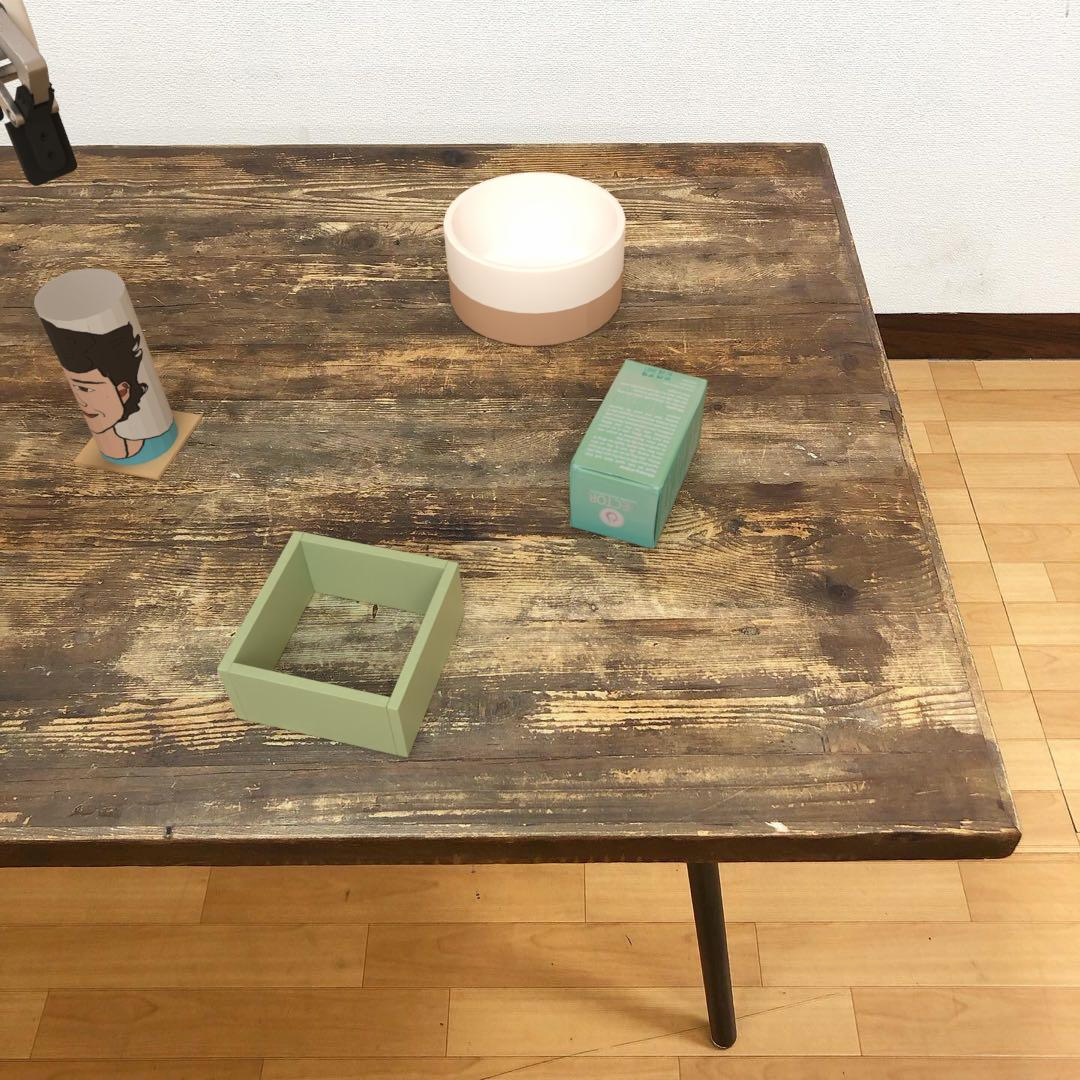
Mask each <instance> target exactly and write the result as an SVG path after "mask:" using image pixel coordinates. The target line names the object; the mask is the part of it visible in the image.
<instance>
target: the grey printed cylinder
mask: <svg viewBox="0 0 1080 1080" xmlns="http://www.w3.org/2000/svg"><path fill="white" fill-rule="evenodd" d="M33 306H34V308H35V311H36V313H37V315H38V317H39V319H40V321H41V323H42V326H43V328H44V331H45V333H46V336H47V337H48V340H49V341H50V344H51V345H52V348H53V350H54V352H55V355H56V357H57V359H58V361H59V363H60V364H59V365H60V366H61V368H62V371H63V373H64V375H65V377H66V379H67V381H68V384H69V386H70V388H71V391H72V392H73V395H74V397H75V400H76V402H77V404H78V407H79V409H80V410H81V413H82V415H83V417H84V419H85V423H86V424H87V426H88V428H89V430H90V433H91V435H92V437H94V439H95V442H96V444H97V446H98V448H99V450H100V452H101V454H102V456H103V457H104V458H105V459H107V460H108V461H109V462H113V463H116V464H119V465H136V464H142V463H146V462H148V461H151V460H154V459H156V458H158V457H159V456H161V455H162V454H164V453H165V452H167V451H168V450H169V449H170V448H171V446H172V445H173V444H174V442H175V440H176V438H177V436H178V432H177V425H176V422H175V420H174V417H173V414H172V411H171V410H172V409H171V406H170V404H169V401H168V399H167V395H166V393H165V390H164V387H163V385H162V382H161V379H160V376H159V374H158V373H159V372H158V371H157V368H156V365H155V363H154V360H153V357H152V354H151V351H150V349H149V346H148V344H147V341H146V338H145V336H144V333H143V330H142V327H141V325H140V322H139V319H138V316H137V314H136V311H135V308H134V305H133V303H132V299H131V297H130V295H129V291H128V289H127V286H126V284H125V282H124V280H123V278H122V277H121V276H120V275H119V274H117V273H116V272H114V271H111V270H107V269H104V268H83V269H75V270H72V271H69V272H66V273H62V274H60V275H58V276H56V277H54V278H52V279H50V280H49V281H47V282H46V283H45V284H44V285H43V286H41V287H40V288H39V290H38V291H37V293H36V294H35V296H34V301H33Z"/></svg>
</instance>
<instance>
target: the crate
mask: <svg viewBox="0 0 1080 1080" xmlns="http://www.w3.org/2000/svg"><path fill="white" fill-rule="evenodd" d="M460 573H461V571H460V563H459V562H457V561H451V560H448V559H443V558H438V557H431V556H428V555H422V554H417V553H412V552H406V551H401V550H397V549H392V548H386V547H380V546H375V545H372V544H371V545H370V544H366V543H361V542H356V541H350V540H345V539H340V538H335V537H329V536H324V535H321V534H314V533H309V532H303V531H298V530H293V532H292V534H291V536H290V537H289V539H288V542H287V543H286V544H285V546H284V549H283V550H282V552H281V554H280V555H279V558H278V559H277V561H276V563H275V564H274V566H273V567H272V570H271V572H270V573H269V574H268V576H267V579H266V581H265V582H264V584H263V586H262V588H261V590H260V591H259V593H258V595H257V596H256V599H255V600H254V602H253V604H252V605H251V607H250V609H249V611H248V613H246V616H245V618H244V620H243V621H242V623H241V625H240V627H239V629H238V631H237V632H236V633H235V636H234V637H233V639H232V641H231V643H230V644H229V647H228V649H227V650H226V652H225V653H224V655H223V657H222V659H221V661H220V663H219V664H218V666H217V668H216V670H217V673H218V676H219V677H220V680H221V682H222V685H223V687H224V689H225V692H226V694H227V696H228V699H229V702H230V703H231V706H232V708H233V710H234V713H235V716H236V717H237V719H240V720H244V721H248V722H251V723H257V724H261V725H264V726H265V725H266V726H269V727H274V728H278V729H281V730H282V729H283V730H286V731H290V732H294V733H299V734H304V735H306V736H307V735H308V736H312V737H316V738H321V739H325V740H330V741H334V742H338V743H342V744H346V745H351V746H356V747H359V748H363V749H369V750H371V751H372V750H373V751H378V752H381V753H385V754H389V755H394V756H399V757H403V758H409V756H410V754H411V751H412V748H413V747H414V744H415V741H416V739H417V737H418V734H419V731H420V728H421V726H422V724H423V721H424V718H425V715H426V713H427V711H428V708H429V705H430V703H431V701H432V698H433V696H434V693H435V691H436V689H437V685H438V683H439V680H440V677H441V675H442V672H443V670H444V667H445V665H446V662H447V660H448V657H449V655H450V652H451V650H452V647H453V645H454V642H455V641H456V640H455V639H456V637H457V635H458V632H459V629H460V627H461V624H462V621H463V619H464V617H465V607H464V599H463V591H462V582H461V581H462V580H461V574H460ZM314 593H317V594H323V595H326V596H333V597H338V598H342V599H347V600H352V601H357V602H362V603H365V604H371V605H377V606H381V607H385V608H390V609H396V610H401V611H406V612H410V613H414V614H419V615H424V617H423V619H422V622H421V624H420V627H419V629H418V631H417V634H416V636H415V638H414V640H413V643H412V645H411V647H410V650H409V653H408V655H407V657H406V659H405V661H404V665H403V666H402V669H401V672H400V674H399V676H398V679H397V681H396V683H395V686H394V688H393V690H392V693H391V695H390V696H386V695H382V694H377V693H372V692H369V691H363V690H359V689H356V688H350V687H346V686H341V685H337V684H333V683H328V682H324V681H318V680H315V679H310V678H305V677H302V676H296V675H291V674H287V673H283V672H278V671H274V670H275V668H276V666H277V665H278V662H279V660H280V659H281V657H282V655H283V653H284V651H285V649H286V647H287V644H289V641H290V639H291V638H292V635H293V634H294V632H295V629H296V628H297V627H298V624H299V622H300V620H301V618H302V616H303V614H304V613H305V610H306V608H307V606H308V605H309V603H310V601H311V598H312V597H313V595H314Z"/></svg>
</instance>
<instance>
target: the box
mask: <svg viewBox="0 0 1080 1080" xmlns="http://www.w3.org/2000/svg"><path fill="white" fill-rule="evenodd" d="M707 392H708V379H705V378H701V377H698V376H697V377H696V376H693V375H689V374H687V373H682V372H678V371H674V370H671V369H666V368H663V367H658V366H654V365H650V364H647V363H644V362H639V361H635V360H631V359H625V360H624V362H623V364H621V367H620V369H619V371H618V373H617V374H616V377H615V378H614V380H613V382H612V384H611V385H610V388H609V390H608V391H607V393H606V395H605V397H604V399H603V401H602V403H601V404H600V406H599V408H598V410H597V411H596V414H595V415H594V417H593V419H592V421H591V423H590V425H589V426H588V428H587V430H586V432H585V434H584V436H583V438H582V439H581V442H580V444H579V445H578V447H577V449H576V451H575V453H574V455H573V457H572V459H571V460H570V463H569V473H568V475H569V477H568V484H569V485H568V487H569V527H570V528H574V529H578V530H581V531H585V532H589V533H593V534H597V535H600V536H604V537H608V538H611V539H615V540H619V541H623V542H626V543H630V544H634V545H637V546H641V547H644V548H650V549H655V548H656V546H657V545H658V542H659V540H660V537H661V535H662V533H663V530H664V528H665V525H666V523H667V520H668V518H669V516H670V515H671V514H670V513H671V511H672V509H673V507H674V504H675V502H676V500H677V497H678V495H679V492H680V490H681V487H682V486H683V483H684V481H685V478H686V476H687V474H688V472H689V468H690V466H691V463H692V461H693V458H694V456H695V453H696V450H697V448H698V445H699V443H700V440H701V435H702V427H703V418H704V411H705V410H704V409H705V404H706V398H707Z"/></svg>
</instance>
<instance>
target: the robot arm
mask: <svg viewBox="0 0 1080 1080" xmlns="http://www.w3.org/2000/svg"><path fill="white" fill-rule="evenodd" d="M24 3H25V2H24V1H23V0H0V62H1V61H5V60H7V59H8V60H9V61H10V63H7V64H4V65H1V66H0V122H2V121H3V120H4V118H5V116H6V118H7V119H8V120H9V121H8V122H5V123H4V127H5V130H6V132H7V134H8V135H7V136H8V138H9V139H10V142H11V144H12V147H13V149H14V152H15V154H16V157H17V160H18V162H19V164H20V167H21V170H22V172H23V174H24V177H25V179H26V181H27V182H28V183H29V184H31V185H32V186H34V187H39V186H41V185H44V184H46V183H49V182H51V181H53V180H56V179H59V178H60V177H63V176H65V175H68V174H70V173H73V172H74V171H76V170H77V169H78V162H77V159H76V156H75V154H74V151H73V148H72V145H71V143H70V139H69V137H68V133H67V131H66V128H65V126H64V122H63V120H62V117H61V114H60V106H59V103H58V101H57V99H56V97H55V92H56V89H55V88H53V83H52V82H50V75H49V67H48V64H47V61H46V59H45V58H44V57H43V55H42V54H41V53H40V49H39V45H38V41H37V38H36V35H35V32H34V28H33V26H32V22H31V20H30V17H29V14H28V11H27V9H26V6H25V4H24ZM16 80H19V82H20V83H21V85H19V86H16V87H15V88H16V90H15V96H14V98H13V96H12V95H11V93H10V91H9V90H8V89H7V87H6V85H5V84H8V83H10V82H13V81H16Z"/></svg>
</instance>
